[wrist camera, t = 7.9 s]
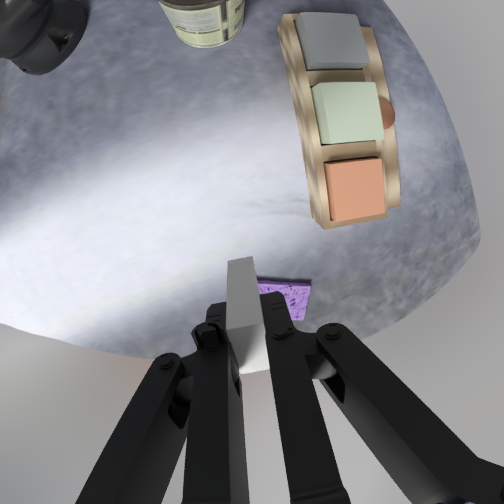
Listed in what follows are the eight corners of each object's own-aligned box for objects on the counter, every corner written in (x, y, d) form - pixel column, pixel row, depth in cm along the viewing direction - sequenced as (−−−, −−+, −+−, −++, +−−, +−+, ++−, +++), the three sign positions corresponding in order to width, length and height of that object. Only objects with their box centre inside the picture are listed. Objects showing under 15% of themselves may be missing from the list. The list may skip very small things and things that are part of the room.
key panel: (276, 30, 30) (283, 14, 24) (366, 31, 29) (383, 19, 24) (312, 217, 41) (324, 229, 36) (394, 203, 41) (414, 212, 35)
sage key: (308, 90, 30) (319, 82, 26) (358, 88, 30) (375, 82, 26) (318, 143, 33) (330, 143, 28) (367, 138, 33) (384, 139, 28)
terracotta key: (317, 161, 35) (329, 164, 31) (364, 156, 35) (381, 158, 31) (324, 212, 38) (336, 222, 34) (368, 204, 38) (384, 213, 34)
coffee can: (175, 0, 26) (155, -47, 13) (243, -5, 27) (248, -55, 14) (172, 52, 30) (144, 14, 17) (243, 47, 31) (249, 4, 18)
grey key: (292, 26, 26) (300, 12, 22) (342, 27, 26) (356, 14, 22) (304, 72, 29) (314, 62, 25) (354, 71, 29) (370, 63, 25)
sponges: (301, 314, 49) (303, 320, 47) (231, 311, 47) (231, 317, 46) (309, 281, 46) (311, 286, 44) (234, 276, 45) (235, 281, 43)
